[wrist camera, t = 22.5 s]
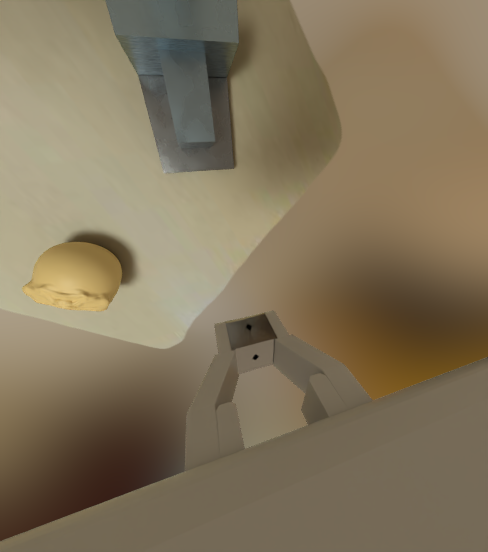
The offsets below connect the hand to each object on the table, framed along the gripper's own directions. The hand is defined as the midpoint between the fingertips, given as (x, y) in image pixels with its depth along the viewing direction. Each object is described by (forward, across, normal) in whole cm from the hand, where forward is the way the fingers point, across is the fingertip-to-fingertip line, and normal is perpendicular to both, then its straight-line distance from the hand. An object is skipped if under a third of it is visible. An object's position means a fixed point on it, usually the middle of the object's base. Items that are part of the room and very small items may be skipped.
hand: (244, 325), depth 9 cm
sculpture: (+32, +24, +8) cm, 41 cm away
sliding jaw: (+30, 0, -16) cm, 34 cm away
